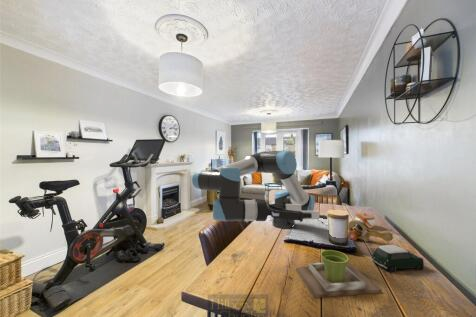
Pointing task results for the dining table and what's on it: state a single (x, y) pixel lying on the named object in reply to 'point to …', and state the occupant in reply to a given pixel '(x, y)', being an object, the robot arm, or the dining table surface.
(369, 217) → the lidded jar
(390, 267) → the miniature car
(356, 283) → the jig plate
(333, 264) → the plant pot
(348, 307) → the dining table surface
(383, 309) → the dining table surface
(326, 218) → the smart home device
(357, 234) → the toy helicopter
